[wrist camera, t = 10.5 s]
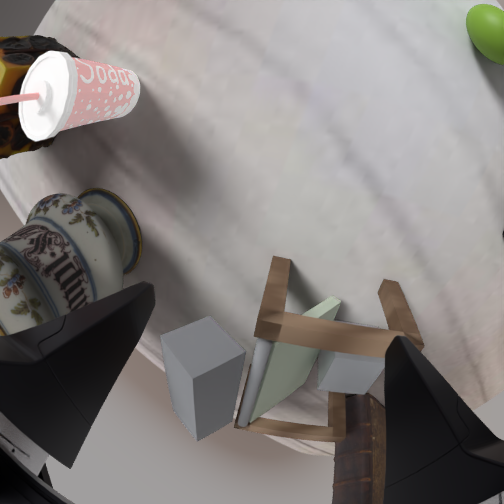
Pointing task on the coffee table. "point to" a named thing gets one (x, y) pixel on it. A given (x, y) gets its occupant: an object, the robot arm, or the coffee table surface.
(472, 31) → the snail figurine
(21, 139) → the candle
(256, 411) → the trapdoor
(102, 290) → the apothecary jar
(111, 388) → the robot arm
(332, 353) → the slate grey block
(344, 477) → the book
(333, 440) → the walnut frame
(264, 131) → the coffee table surface
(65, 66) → the beverage cup
